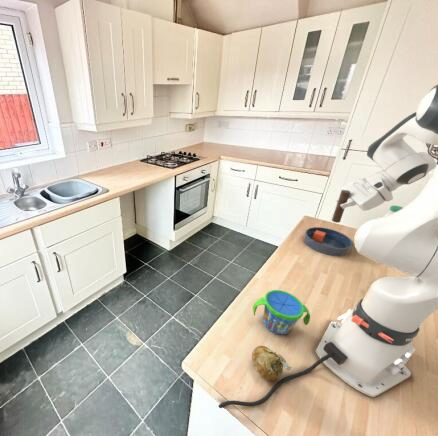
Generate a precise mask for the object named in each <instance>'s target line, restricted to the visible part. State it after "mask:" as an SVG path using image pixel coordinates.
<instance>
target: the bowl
mask: <svg viewBox="0 0 438 436" xmlns="http://www.w3.org/2000/svg"><path fill="white" fill-rule="evenodd" d="M316 230H318V231H321V232H324V233H326V234H325V237H324V239H323V241H322V243H319V242H316V241H314V240H312V238H313V235H314V233H315V231H316ZM302 240H303V243H304V244H305V245H306V247H308V248H309V249H311V250H313V251H315V252H316V253H320V254H323V255H326V256H331V257H343V256H346V255H349V254H350V253H351V250H352V248H353V246H354V241H353V240H352V239H351V238H350V237H348V235H346V234H344V233H342V232H340V231H337V230H335V229H331V228H326V227H320V226H315V227H309V228H307V229H306V230H305V232H304V235H303V237H302Z"/></svg>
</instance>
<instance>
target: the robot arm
mask: <svg viewBox="0 0 438 436" xmlns="http://www.w3.org/2000/svg"><path fill="white" fill-rule="evenodd" d="M407 135H408V136H409V137H410V136H411V137H412V138H414V139H417V140H419V141H420V142H421V143H423V144H427V145H431V146H438V84H436V85H434V86H433V87H432V88H431V89H430V90H429V91H428V92H427V93H426V94H425V95H424V96H423V97H422V98H421V100H420V101H419V103H418V105H417V108H416V111H415V112H413V113H411V114H409V115H408V116H406V117H405V118H403V119H402V120H401V121H399V122H398V123H397V124H396V125H395V126H393V127H392V128H391V129H389V130H388V131H386V133H385V134H383V135H382V136H381V137H379V138H378V139H376V140H375V141H373V142H372V143H371V144H370V145H368V148H367V150H366V156H367V157H368V158H369V159H370V160H372V161H373V162H374V163H375V164H376V165H377V166H378V167H379V168H380V169H381V170H380V171H377V172H375V173H374V174H371V175H370V176H368V177H366V178H358V179H355V180H353V181H350V182H348V183H346V184H344V185H343V186H342V187H341V190H348V191H350V195H349V198H348V200H349V199H350V200H349V201H347V202H346V203H342V204H340V206H341V207H342V208H343V209H344V208H345V209H346V208H349V207H355V206H357V207H358V208H360V210H361V211H364V212H365V211H369V210H372V209H374V208H377V207H378V206H381V205H383V204H384V203H385V202H390V201H392V200H394V197H393V193H392V192H393V191H396V190H397V189H399V187H402V186H404V185H411V184H413V183H415V182H417V181H419V180H422V179H423V178H425V177H426V176H427V174H428V173H430V172H431V171H433V172H432V174H431V176H430V177H429V179H428V181H427V182H426V184H425V185H424V187H423V188H422V190H421V191H420V192H419V194H418V195H417V196H416V197H415V198H414V199H413V200H412V201H411V202H409V203H408V204H407V205H406V206H404V207H403V208H402V209H401V210H399V211H397V212H395V213H392V214H390V215H387V216H385V215H383V216H384V217H383V216H380V217H376V218H372V219H369V220H367V221H366V222H363V223H362V224H361V225H360V226H359V227H358V228H357V230H356V231H355V232H354V233H355V234H354V236H353V245H354V247H355V250H356V252H357V253H358V254H360V255H362V256H364V257H365V258H367V259H369V260H371V261H373V262H375V263H377V264H379V265H382V266H384V267H387V268H391V269H393V270H396V271H399V272H402V273H405V274H408V275H409V276H408V275H407V276H395V275H394V276H392V275H390V276H389V275H388V276H383V277H381V278H378V279H376V280H374V281H373V282H372V283H371V285H370V287H369V288H368V290H367V291H366V294H365V295H364V297H363V298H361V299H360V300H359V302H358V303H357V304H356V305H355V307H354V308H348V309H347V311H346V313H344V314H342V315H340V316H338V317H337V320H338V321H335V320H332V321H331V322H330V323H329V324H328V326H327V328H326V330H325V332H324V334H323V335H322V337H321V340H320V341H319V343H318V345H317V347H316V349H315V354H316V355H317V357H318V358H319V359H318V360H316V361H315V362H314V363H313V364H312V365H311V366H309V367H308V368H306V369H304V370H301V371H299V372H297V373H293V374H289V375H288V376H285V377H283V378H281V379H280V380H278V381H277V382H276V383H275V384H274V385H273V387H272V388H270V390H269V391H268V392H267V393H266V395H264V396H263V397H262V398H260V399H258V400H256V401H241V400H226V401H223V402H221V403H219V404H218V408H219V409H223V408H224V407H228V406H242V407H257V406H260V405H262V404H263V403H266V401H268V400H269V399H270V398H271V397H272V396H273V394H274V393H275V392H276V391H277V389H278V388H279V387H280V386H282V385H283V384H285V383H286V382H288V381H290V380H293V379H296V378H299V377H303V376H305V375H306V374H307V375H308V374H309V373H310V372H312V371H313V370H315V369H316V368H317V367H318V366H319V365H320V364H322V363H323V364H324V365H325V366H326V367H327V368H328V369H329V370H330V371H331V372H332V373H333V374H334V375H336V376H337V377H338V378H339V379H341V380H342V381H343V382H345V383H346V384H347V385H348V386H350V387H352V388H353V389H354V390H356V391H358V392H360V393H362V394H364V395H366V396H369V397H370V398H376V397H377V396H380V395H381V394H383V393H384V392H386V391H388V390H390V389H392V388H393V387H395V386H396V385H399V384H400V383H402V382H403V381H405V380H407V379H409V378H410V376H411V375H412V373H411V371H410V369H409V368H408V367H407V366H406V364H408V362H409V361H411V359H410V358H411V357H412V355H413V354H414V353H415V351H416V348H415V346H414V344H413V340H414V339H415V338H416V337H417V336H418V334H419V332H420V327H421V325H422V324H423V323H424V322H425V321H426V320H427V319H428V318H429V317H430V316H431V315H433V313H434V312H435V311H437V310H438V164H437V162H436V160H435V158H434V157H433V156H432V155H431V154H429V153H427V152H425V151H418V152H417V151H415V150H414V149H413V147H411V146H410V145H409V144H408V143H407V142H406V140H405V139H404V138H405V137H406V136H407ZM338 200H339V198H338V199H336V200H335V201H336V204H337V203H338ZM345 209H344V210H345ZM341 319H342V320H341ZM339 320H341V322H339Z"/></svg>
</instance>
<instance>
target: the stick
mask: <svg viewBox="0 0 438 436" xmlns="http://www.w3.org/2000/svg"><path fill="white" fill-rule="evenodd" d="M349 195H350V191H348V190H343V189H341V191H340V194H339V197H338V199H339V200H338V199H337V200H338V203H337V202H336V206H335V208H334V212H333V214H332V218H331V221H332V222H333V223H341V220H342V218H343V215H344V212H345V209H346V208H344V209H343V208H342V207H341V206H340V204H342V203H346V202H349V201H348V200H349V199H350V198H349ZM348 198H349V199H348Z"/></svg>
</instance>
